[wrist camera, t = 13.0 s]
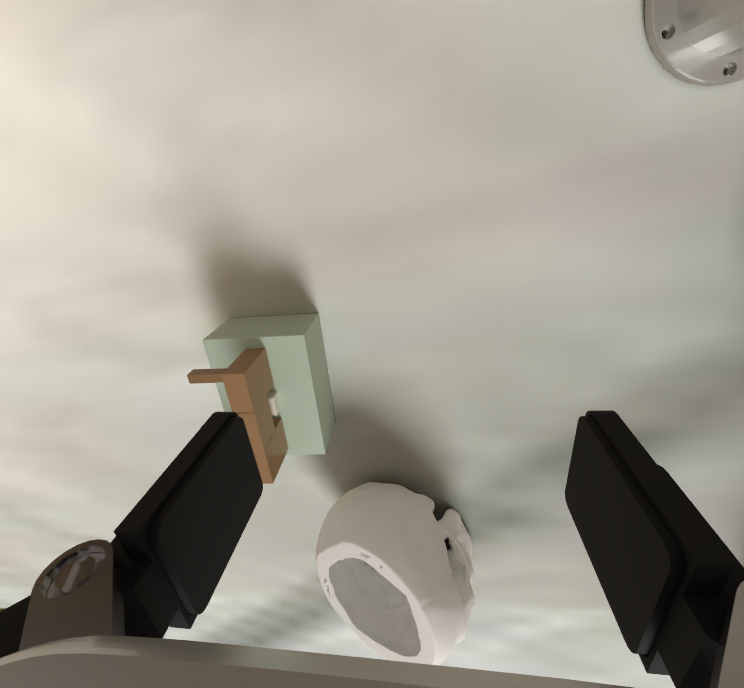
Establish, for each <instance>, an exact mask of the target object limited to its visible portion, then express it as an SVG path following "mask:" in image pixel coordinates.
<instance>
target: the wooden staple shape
mask: <svg viewBox="0 0 744 688" xmlns="http://www.w3.org/2000/svg"><path fill="white" fill-rule="evenodd" d="M187 377H188V380H189V383H218V382H223V383H224V386H225V390H226V393H227V396H228V400H229V403H230V407H231V410H232V412H236V413H237V414H238V416H239V417H242V418H243V420H244V423H245V426H246V430H247V433H248V436H249V440H250V443H251V446H252V449H253V453H254V456H255V459H256V463H257V466H258V469H259V472H260V476H261V479H262V483H273V482H274V480H275V478H276V475H277V473H278V471H279V469H280V466H281V464H282V462H283V460H284V457H285V455H286V453H287V451H288V444H287V439H286V435H285V431H284V426H283V422H282V418H272V415H271V411H270V406H269V402H268V398H267V394H268V393H269V391H270V390H271V388H272V387H273V385H274V383H273V378H272V374H271V370H270V365H269V361H268V357H267V352H266V348H255V349H245V350H244V351H243V352H242V353H241V354H240V355H239V356H238V357H237V358H236V359H235V360H234V362H233V363H232V364H231V365H230V366H229V367H228V368H221V369H195V370H192V371H191V372H190V373H189V374H188V375H187Z"/></svg>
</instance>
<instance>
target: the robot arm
mask: <svg viewBox="0 0 744 688" xmlns="http://www.w3.org/2000/svg"><path fill="white" fill-rule="evenodd" d="M645 26H646V31H647V37H648V41H649V44H650V46H651V49H652V51H653V53H654V56H655V57H656V59H657V60H658V61H659V63H660V64H661V65H662V67H663V68H664V69H665V70H666V71H668V72H669V73H670V74H671V75H673V76H674V77H675V78H678V79H680V80H682V81H685V82H687V83H689V84H696V85H702V86H711V85H723V84H727V83H731V82H735V81H739V80H742V79H744V0H645ZM662 33H663V34H664V37H662ZM262 490H263V483H262V479H261V476H260V472H259V469H258V466H257V463H256V459H255V456H254V453H253V449H252V446H251V443H250V440H249V436H248V433H247V430H246V426H245V423H244V420H243V418H242V417H239V416H238V414H237V413H236V412H215V413H213V414H212V415H211V417H210V418H209V419H208V420H207V421H206V423H205V424H204V425H203V426H202V427H201V428H200V430H199V431H198V432H197V433H196V434H195V436H194V437H193V438H192V439H191V440H190V442H189V443H188V444H187V445H186V446H185V447H184V449H183V450H182V451H181V452H180V453H179V455H178V456H177V457H176V458H175V459H174V461H173V462H172V463H171V464H170V465H169V466H168V468H167V469H166V470H165V471H164V472H163V474H162V475H161V476H160V477H159V478H158V480H157V481H156V482H155V483H154V484H153V485H152V487H151V488H150V489H149V490H148V491H147V493H146V494H145V495H144V496H143V497H142V499H141V500H140V501H139V502H138V503H137V505H136V506H135V507H134V508H133V509H132V510H131V512H130V513H129V514H128V515H127V516H126V518H125V519H124V520H123V521H122V522H121V524H120V525H119V526H118V527H117V528H116V529H115V531H114V533H115V534H116V537H115V538H114V539H113V540H112V542H111V543H109V542H108V541H106V540H100V539H97V540H91V541H87V542H84V543H81V544H79V545H76V546H75V547H73V548H71V549H69V550H67V551H66V552H64V553H63V554H62V555H60V556H59V557H57V558H56V559H55V560H54V561H53V562H51V563H50V564H49V565H48V566H47V567H46V568H45V569H44V570H43V572H42V573H41V575H40V576H39V577H38V579H37V580H36V582H35V584H34V587H33V589H32V592H31V595H30V596H28V597H27V598H25V599H23V600H21V601H19V602H17V603H16V604H14V605H12V606H10V607H8V608H6V609H5V610H3V611H1V612H0V688H632V687H624V686H616V685H608V684H601V683H593V682H585V681H577V680H569V679H560V678H551V677H541V676H532V675H523V674H514V673H504V672H495V671H486V670H476V669H467V668H458V667H448V666H439V665H430V664H420V663H410V662H400V661H391V660H381V659H371V658H361V657H351V656H342V655H332V654H322V653H312V652H302V651H292V650H281V649H271V648H261V647H250V646H240V645H229V644H219V643H208V642H198V641H187V640H173V639H163V636H164V634H165V632H166V631H167V629H168V627H169V626H170V627H175V628H186V629H191V627H192V625H193V623H194V621H195V619H196V617H197V615H198V614H201V613H202V612H203V611H204V610H205V608H206V607H207V605H208V603H209V601H210V599H211V597H212V595H213V593H214V590H215V588H216V586H217V584H218V582H219V580H220V578H221V576H222V574H223V572H224V570H225V568H226V566H227V564H228V562H229V560H230V558H231V556H232V554H233V552H234V550H235V547H236V545H237V543H238V541H239V539H240V537H241V535H242V533H243V531H244V529H245V527H246V525H247V523H248V521H249V519H250V517H251V515H252V513H253V511H254V509H255V507H256V504H257V502H258V500H259V498H260V496H261V494H262ZM565 498H566V503H567V506H568V508H569V511H570V513H571V515H572V518H573V520H574V523H575V525H576V527H577V530H578V532H579V534H580V537H581V539H582V541H583V544H584V546H585V548H586V551H587V553H588V555H589V558H590V560H591V562H592V565H593V567H594V569H595V572H596V574H597V577H598V579H599V581H600V584H601V586H602V588H603V591H604V593H605V595H606V598H607V600H608V602H609V605H610V607H611V609H612V612H613V614H614V616H615V619H616V621H617V623H618V626H619V628H620V631H621V633H622V635H623V638H624V640H625V642H626V644H627V646H628V648H629V649H630V651H631V652H632V653H635V654H639V656H640V658H641V661H642V663H643V665H644V667H645V670H646V672H647V673H651V674H661V675H670V677H671V679H672V681H673V683H674V685H675V687H676V688H744V567H743V566H742V565H741V564H740V562H739V561H738V560H737V559H736V557H735V556H734V555H733V554H732V552H731V551H730V550H729V549H728V547H727V546H726V545H725V544H724V542H723V541H722V540H721V539H720V537H719V536H718V535H717V534H716V532H715V531H714V530H713V529H712V527H711V526H710V525H709V524H708V522H707V521H706V520H705V519H704V517H703V516H702V515H701V514H700V512H699V511H698V510H697V509H696V507H695V506H694V505H693V504H692V502H691V501H690V500H689V499H688V497H687V496H686V495H685V494H684V492H683V491H682V490H681V489H680V487H679V486H678V485H677V484H676V482H675V481H674V480H673V479H672V477H671V476H670V475H669V473H668V472H667V471H666V470H665V469H664V468H663V467H661V466H659V465H657V464H656V463H655V461H654V460H653V459H652V458H651V456H650V455H649V454H648V452H647V451H646V450H645V449H644V447H643V446H642V445H641V444H640V442H639V441H638V440H637V438H636V437H635V436H634V435H633V433H632V432H631V431H630V429H629V428H628V427H627V426H626V424H625V423H624V422H623V421H622V419H621V418H620V417H619V415H618V414H617V413H616V412H615V411H588V412H587V413H586V415H585V416H581V417H580V418H579V420H578V424H577V429H576V435H575V440H574V446H573V451H572V457H571V462H570V467H569V473H568V478H567V484H566V489H565Z"/></svg>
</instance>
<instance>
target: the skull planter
mask: <svg viewBox="0 0 744 688" xmlns="http://www.w3.org/2000/svg"><path fill="white" fill-rule="evenodd" d="M434 507H435V505H434V502H433V500H431V499H430V498H428V497H427V496H425V495H422V494H416V493H414V492H412V491H410V490H408V489H407V488H405V487H403V486H401V485H397V484H389V483H377V482H368V483H365V484H363V485H360V486H358V487H356V488H353V489H351V490H349V491H348V492H346V493H345V494H344V495H343V496H342V497H341V498H340V499H339V500H338V501H337V502H336V503H335V504H334V505H333V506H332V507H331V509H330V510H329V512H328V514H327V516H326V518H325V520H324V522H323V524H322V527H321V529H320V533H319V536H318V541H317V546H316V563H317V571H318V575H319V579H320V582H321V585H322V588H323V590H324V592H325V595H326V597H327V599H328V600H329V602H330V604H331V605H332V606H333V608H334V609H335V611H336V612H337V613H338V614H339V615H340V617H341V618H342V619H343V620H344V621H345V622H346V623H347V625H348V626H349V627H350V628H351V629H352V630H353V631H354V632H355V633H356V634H357V635H358V636H359V637H360V638H361V639H362V640H363V641H364V642H365V643H366V644H367V645H368V646H369V647H371V648H372V649H373V650H375V651H376V652H377V653H379V654H380V655H382V656H383V657H385V658H386V659H388V660H391V661H400V662H410V663H420V664H430V665H440V664H441V663H442V662H443V661H444V660H445V658H446V657H447V656H448V655H449V654H450V652H451V651H452V650H453V648H454V646H455V645H456V644H457V643H459V642H460V641H461V640H462V639H463V638H464V636H465V634H466V631H467V625H468V620H469V617H470V614H471V611H472V609H473V605H474V594H473V591H472V587H471V586H472V582H473V579H474V571H473V567H472V563H471V560H470V557H471V555H472V542H471V539H470V536H469V533H468V532H467V530H466V528H465V526H464V524H463V522H462V520H461V516H460V514H459V513H458V512H457V511H455V510H454V509H448V510H446V512H445V514H444V516H443V517H442V519H441V520H438V521H437V520H436V518H435V517H434V515H433V513H432V512H433V511H434ZM446 538H449V545H450V546H451V550H450V551H447V548H446V544H445V542H444V541H445V539H446Z"/></svg>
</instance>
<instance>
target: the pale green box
mask: <svg viewBox="0 0 744 688" xmlns="http://www.w3.org/2000/svg"><path fill="white" fill-rule="evenodd" d="M203 343H204V346H205V349H206V353H207V356H208V359H209V363H210V366H211V369H221V368H228V367H229V366H230V365H231V364H232V363H233V362H234V360H235V359H236V358H237V357H238V356H239V355H240V354H241V353H242V352H243V351H244V350H245V349H255V348H266V352H267V357H268V361H269V365H270V370H271V374H272V378H273V383H274V385H273V387H272V388H271V390H270V391H269V393H268V394H267V398H268V402H269V406H270V411H271V415H272V418H282V422H283V426H284V431H285V435H286V439H287V444H288V451H287V453H286V455H296V454H326V451H327V447H328V444H329V441H330V437H331V434H332V431H333V427H334V424H335V415H334V408H333V402H332V395H331V389H330V383H329V376H328V370H327V364H326V357H325V351H324V345H323V338H322V332H321V325H320V319H319V313H314V314H295V315H277V316H259V317H241V318H230V319H229V320H227V321H226V322H225V323H224V324H222V325H221V326H220V327H218V328H217V329H216V330H215V331H213V332H212V333H211V334H210V335H208V336H207V337H206V338H204V339H203ZM216 386H217V389H218V392H219V395H220V399H221V402H222V405H223V409H224V412H232V410H231V407H230V403H229V400H228V396H227V393H226V390H225V386H224V383H223V382H218V383H216Z"/></svg>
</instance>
